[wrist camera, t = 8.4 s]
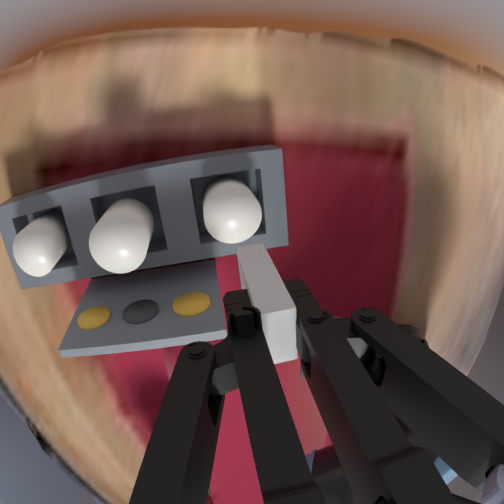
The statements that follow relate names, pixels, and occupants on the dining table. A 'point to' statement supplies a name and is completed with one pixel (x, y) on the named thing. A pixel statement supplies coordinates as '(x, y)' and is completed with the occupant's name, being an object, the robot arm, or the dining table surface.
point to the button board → (153, 209)
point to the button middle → (122, 236)
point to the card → (147, 311)
